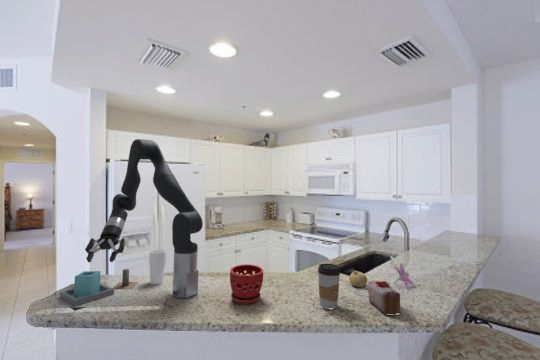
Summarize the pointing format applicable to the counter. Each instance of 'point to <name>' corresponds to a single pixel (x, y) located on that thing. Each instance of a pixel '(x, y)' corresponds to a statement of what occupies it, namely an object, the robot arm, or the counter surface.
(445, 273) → the counter surface
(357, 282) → the onion
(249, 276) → the plant pot
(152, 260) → the drinking glass
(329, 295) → the coffee cup
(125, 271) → the square wooden base
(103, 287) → the charcoal tray
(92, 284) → the teal sleeve
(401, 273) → the lily
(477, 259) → the counter surface
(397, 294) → the food item
